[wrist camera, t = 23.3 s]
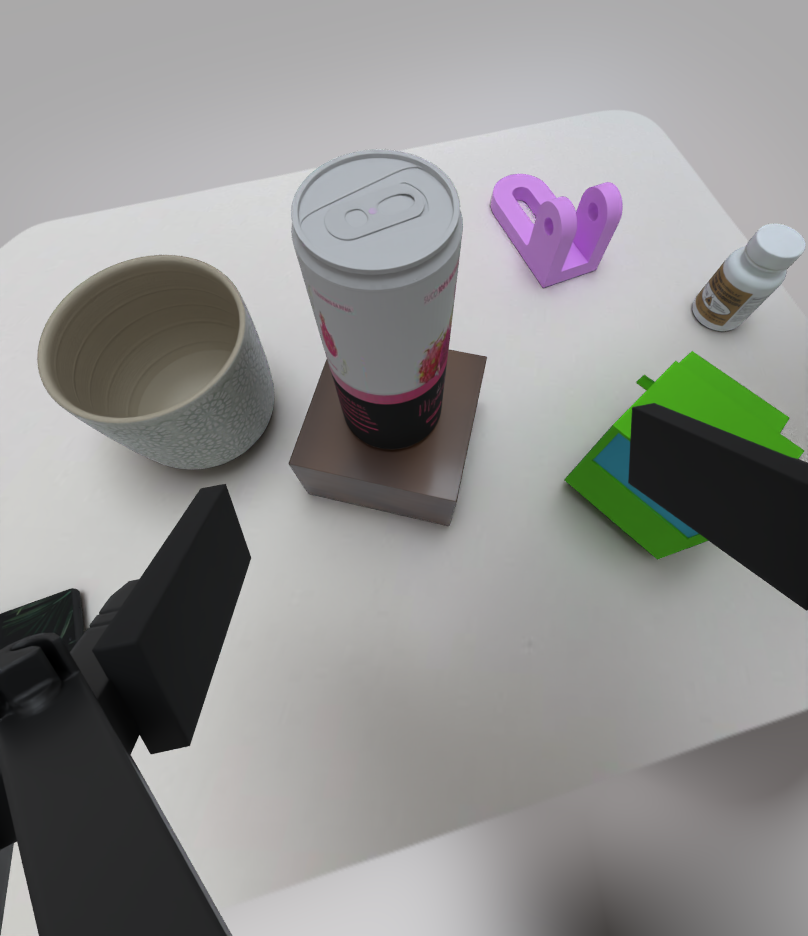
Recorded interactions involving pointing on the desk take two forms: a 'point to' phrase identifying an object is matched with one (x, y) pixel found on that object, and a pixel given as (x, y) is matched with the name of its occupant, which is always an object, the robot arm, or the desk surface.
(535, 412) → the desk surface
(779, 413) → the toy car
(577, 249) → the bracket
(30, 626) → the smartphone
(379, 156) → the beverage can
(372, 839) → the desk surface
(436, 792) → the desk surface
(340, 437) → the riser
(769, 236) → the pill bottle
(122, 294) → the planter
